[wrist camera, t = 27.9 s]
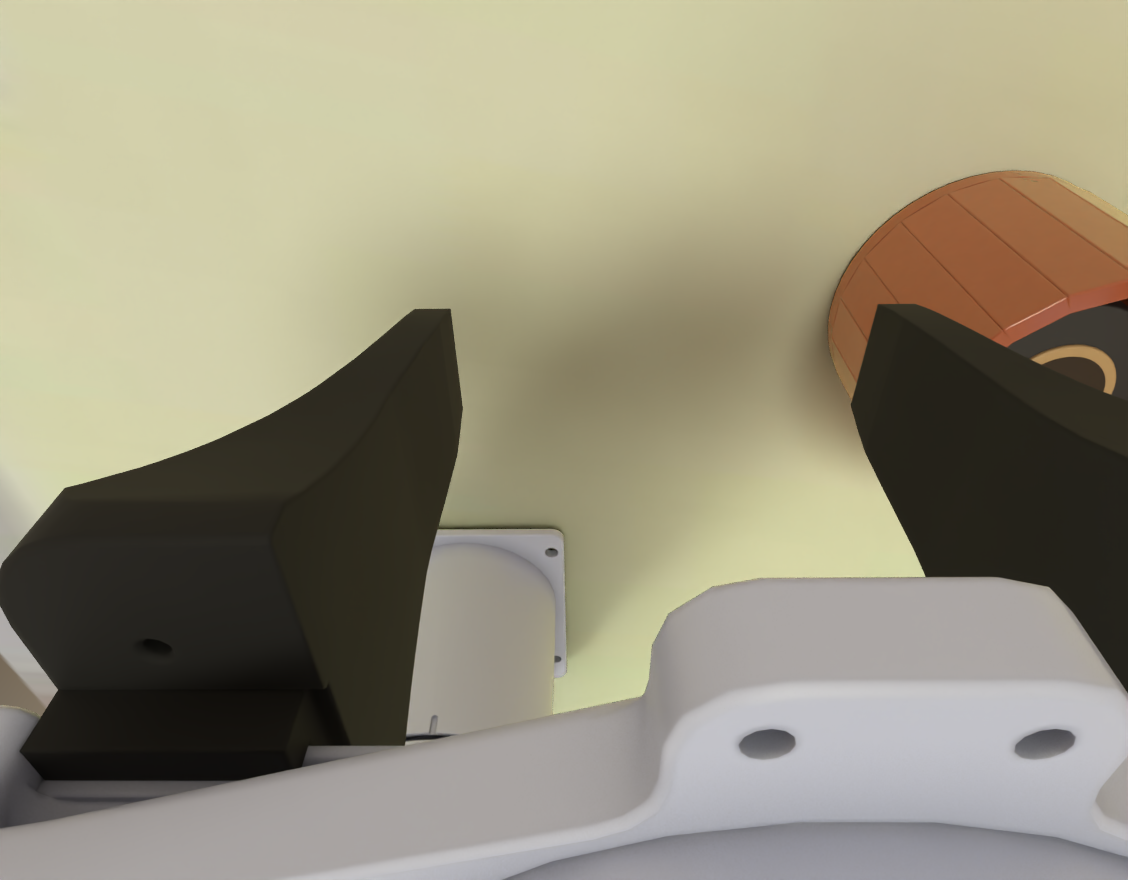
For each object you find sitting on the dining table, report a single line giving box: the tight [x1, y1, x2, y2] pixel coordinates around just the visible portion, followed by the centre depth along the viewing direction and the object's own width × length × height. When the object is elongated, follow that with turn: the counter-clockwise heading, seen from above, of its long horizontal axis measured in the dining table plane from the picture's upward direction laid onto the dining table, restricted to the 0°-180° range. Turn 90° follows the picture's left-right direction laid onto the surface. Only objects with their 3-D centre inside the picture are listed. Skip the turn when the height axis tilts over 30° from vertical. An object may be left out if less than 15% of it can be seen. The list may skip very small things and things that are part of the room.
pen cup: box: [828, 171, 1128, 400], centre depth 21 cm, size 9×9×7 cm
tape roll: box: [1007, 301, 1128, 401], centre depth 21 cm, size 5×5×4 cm
